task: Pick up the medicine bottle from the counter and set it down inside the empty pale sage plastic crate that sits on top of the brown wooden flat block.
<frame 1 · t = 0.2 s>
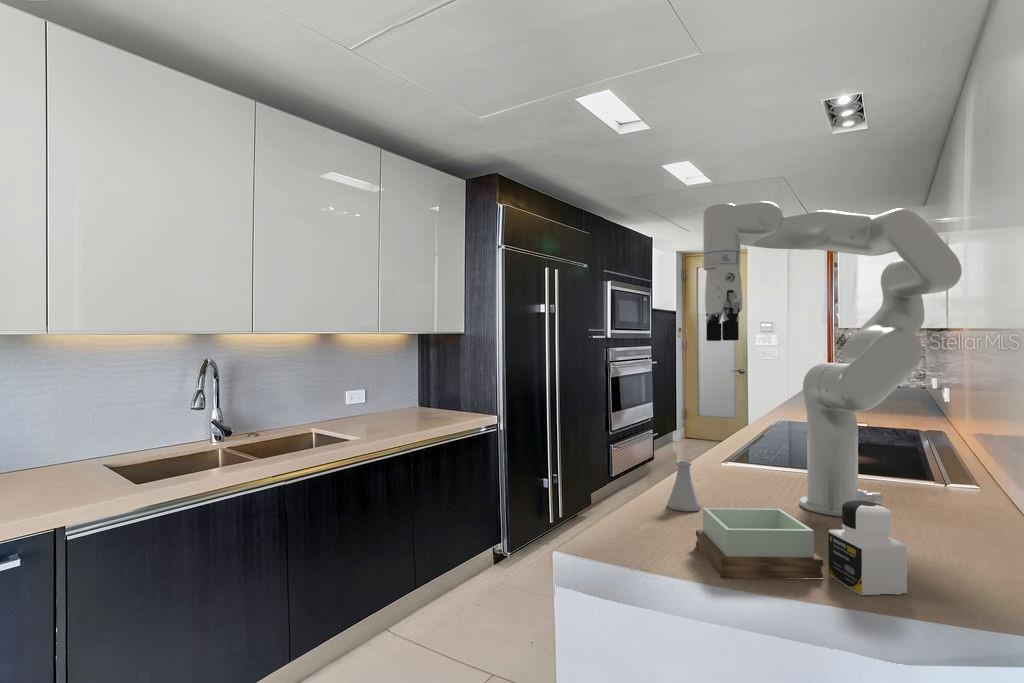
hand: (721, 340, 119), 37 cm above the worktop, tool pointing down, fingers open, 9 cm apart
brown wooden flat block: (754, 562, 89), on the worktop
sage crate: (754, 543, 89), point 3 cm above the worktop, touching brown wooden flat block
flask: (683, 508, 119), on the worktop
medicine bottle: (866, 586, 81), on the worktop
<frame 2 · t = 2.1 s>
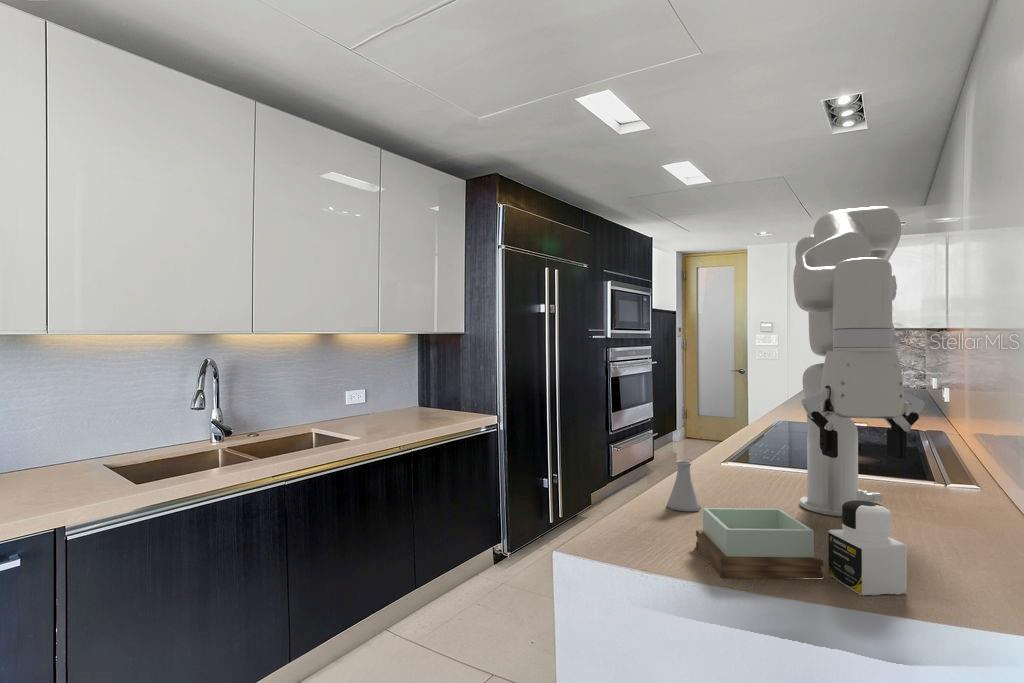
hand: (862, 456, 81), 19 cm above the worktop, tool pointing down, fingers open, 9 cm apart
nothing on the worktop moved.
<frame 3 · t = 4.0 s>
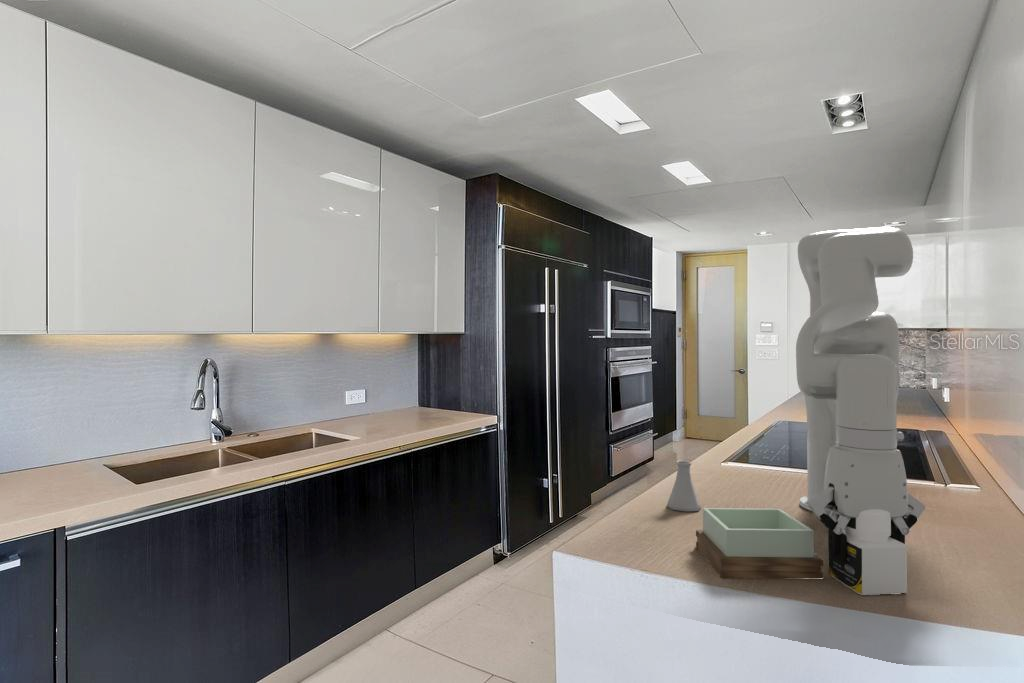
hand: (866, 557, 81), 4 cm above the worktop, tool pointing down, fingers closed on medicine bottle, 7 cm apart
medicine bottle: (866, 586, 81), on the worktop, touching gripper
everything else where it was.
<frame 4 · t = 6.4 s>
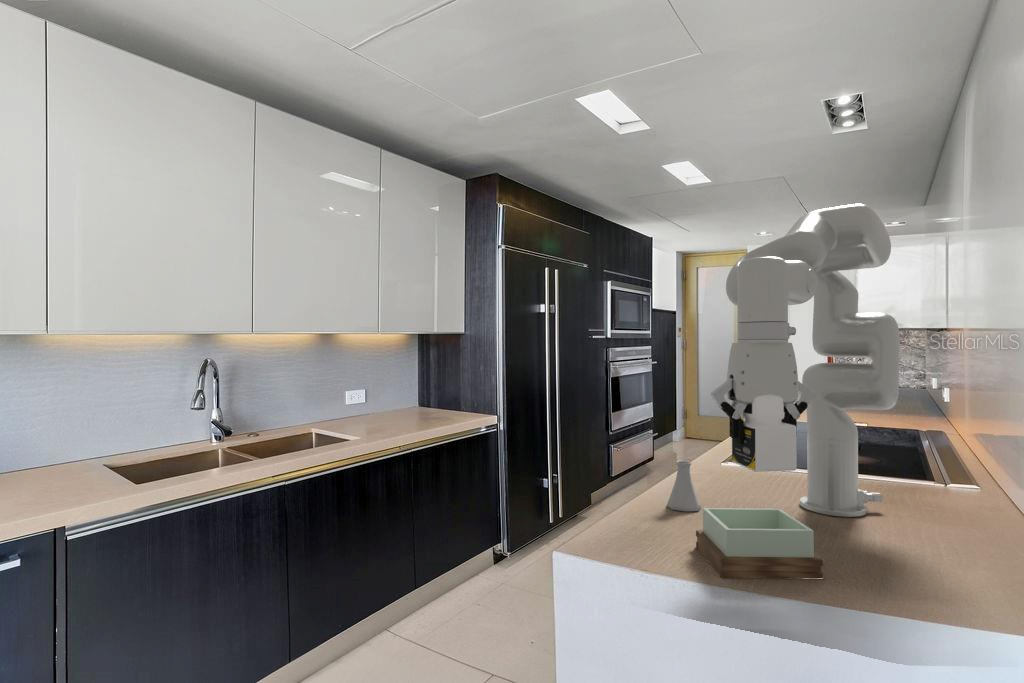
hand: (762, 441, 88), 20 cm above the worktop, tool pointing down, fingers closed on medicine bottle, 7 cm apart
medicine bottle: (763, 467, 88), point 16 cm above the worktop, touching gripper
everything else where it was.
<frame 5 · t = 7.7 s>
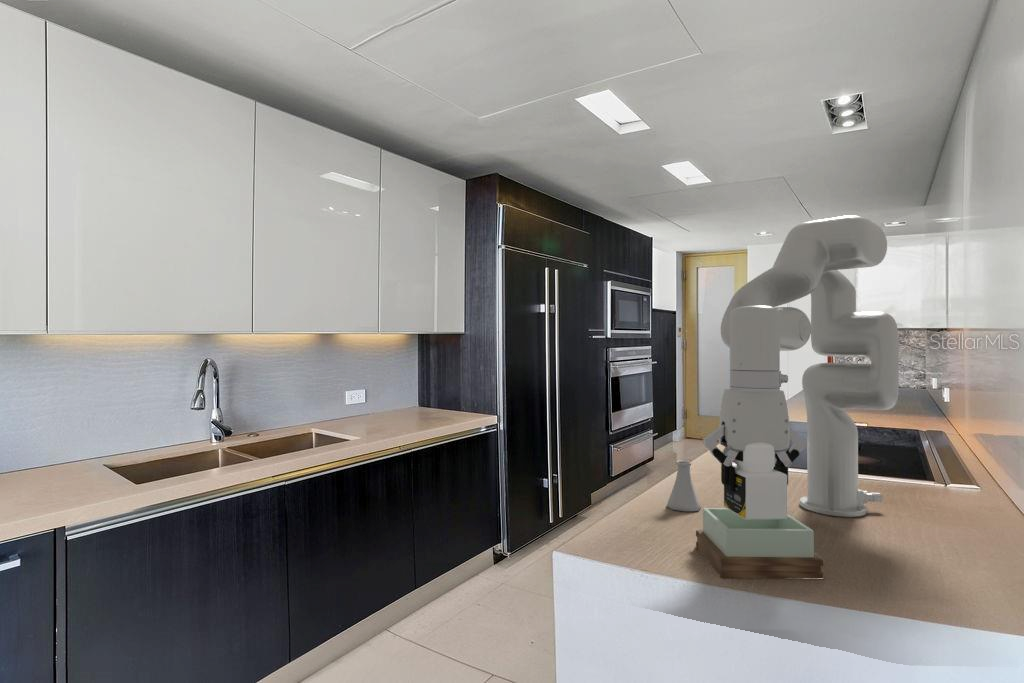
hand: (754, 488, 89), 12 cm above the worktop, tool pointing down, fingers closed on medicine bottle, 7 cm apart
medicine bottle: (754, 514, 89), point 8 cm above the worktop, touching gripper
everything else where it was.
when the fingers open (9 cm above the worktop, at t = 8.7 s): medicine bottle drops 2 cm, resting on sage crate.
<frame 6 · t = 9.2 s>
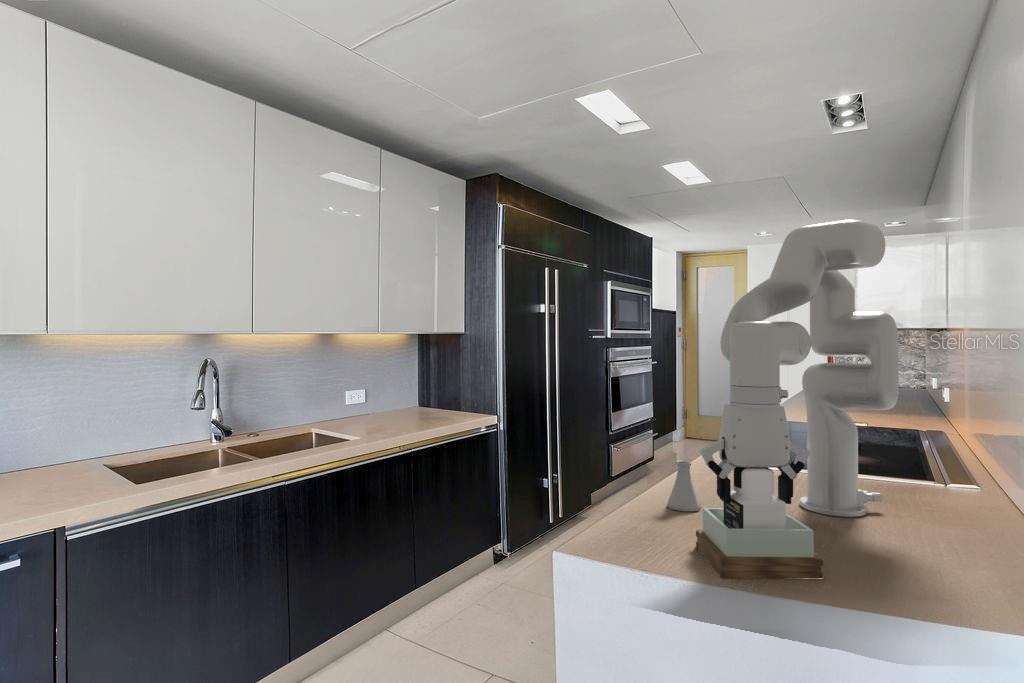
hand: (754, 501, 89), 10 cm above the worktop, tool pointing down, fingers open, 9 cm apart
sage crate: (754, 543, 89), point 3 cm above the worktop, touching medicine bottle, brown wooden flat block
medicine bottle: (753, 540, 89), point 3 cm above the worktop, touching sage crate
everything else where it was.
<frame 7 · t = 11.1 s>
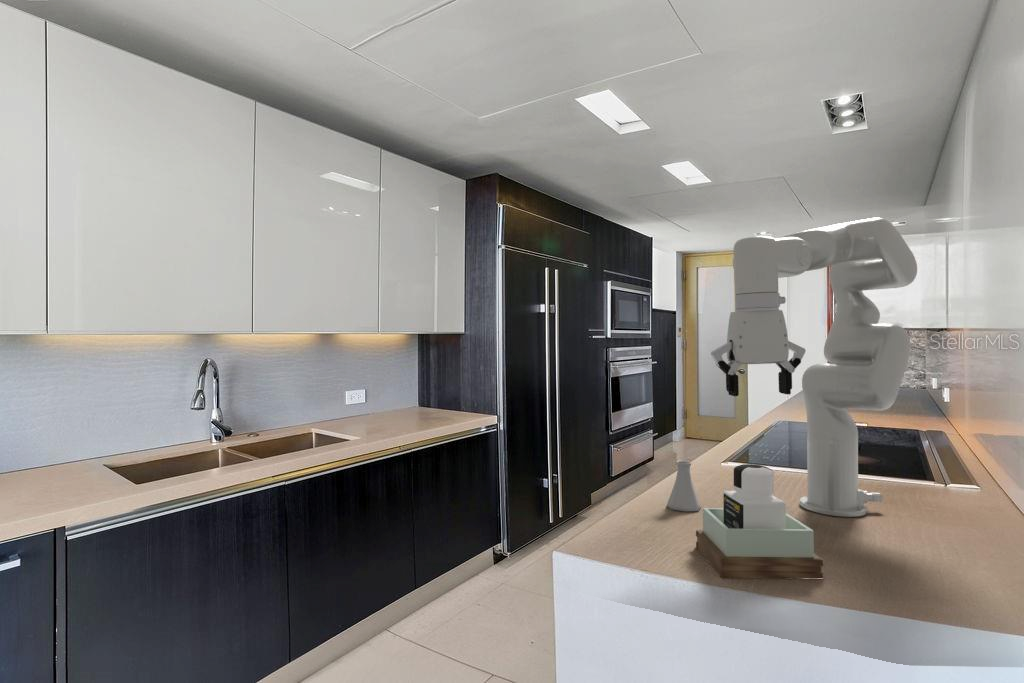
hand: (759, 394, 102), 26 cm above the worktop, tool pointing down, fingers open, 9 cm apart
nothing on the worktop moved.
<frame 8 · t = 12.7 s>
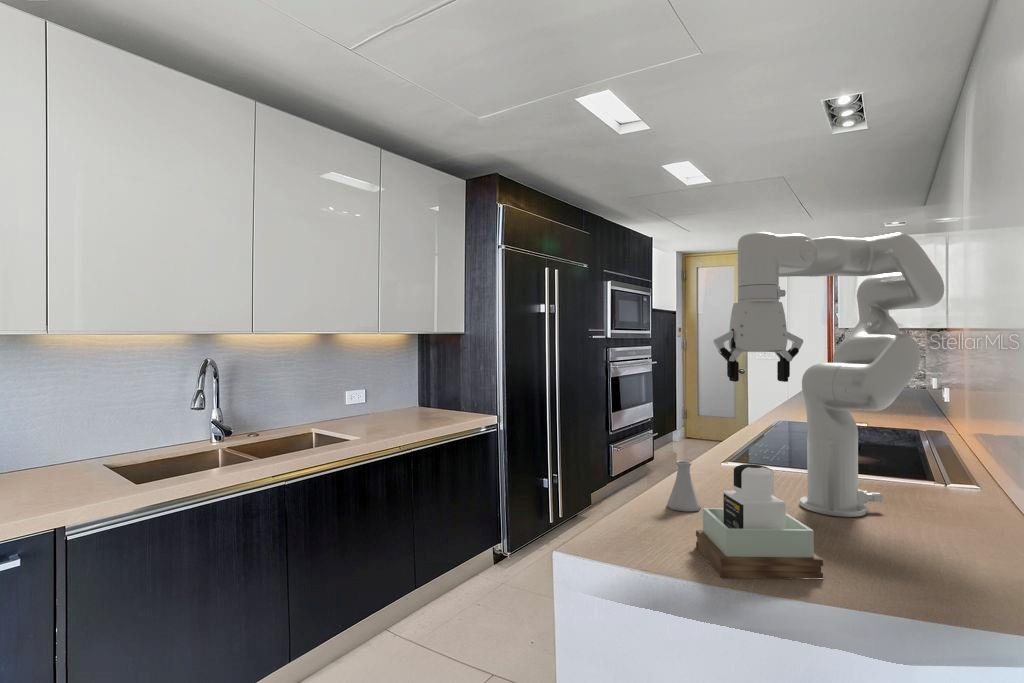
hand: (758, 381, 109), 28 cm above the worktop, tool pointing down, fingers open, 9 cm apart
nothing on the worktop moved.
at the end: medicine bottle 0.2 cm off-centre on the sage crate, point 0.4 cm above the sage crate's base; medicine bottle tilted 0°; sage crate inside the target area on the brown wooden flat block (0.0 cm from its centre), point 3.0 cm above the brown wooden flat block's base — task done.
